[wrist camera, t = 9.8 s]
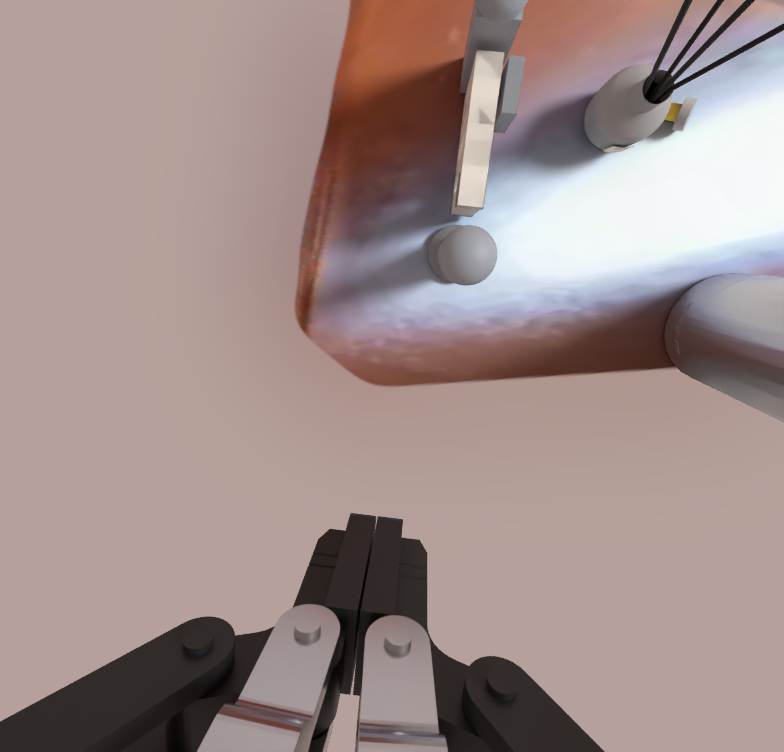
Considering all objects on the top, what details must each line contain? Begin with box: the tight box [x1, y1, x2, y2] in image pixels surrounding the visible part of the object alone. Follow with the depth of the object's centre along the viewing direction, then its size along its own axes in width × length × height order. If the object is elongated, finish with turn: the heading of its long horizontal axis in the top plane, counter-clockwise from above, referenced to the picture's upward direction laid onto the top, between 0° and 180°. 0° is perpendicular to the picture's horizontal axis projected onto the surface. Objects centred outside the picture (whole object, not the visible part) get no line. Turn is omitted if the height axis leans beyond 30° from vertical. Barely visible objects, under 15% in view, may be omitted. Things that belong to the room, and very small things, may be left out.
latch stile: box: [460, 0, 528, 133], centre depth 29 cm, size 4×6×14 cm
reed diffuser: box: [584, 0, 784, 152], centre depth 25 cm, size 10×7×20 cm
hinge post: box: [428, 225, 497, 285], centre depth 32 cm, size 5×5×14 cm
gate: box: [450, 50, 504, 217], centre depth 32 cm, size 8×2×9 cm, turn 174°
